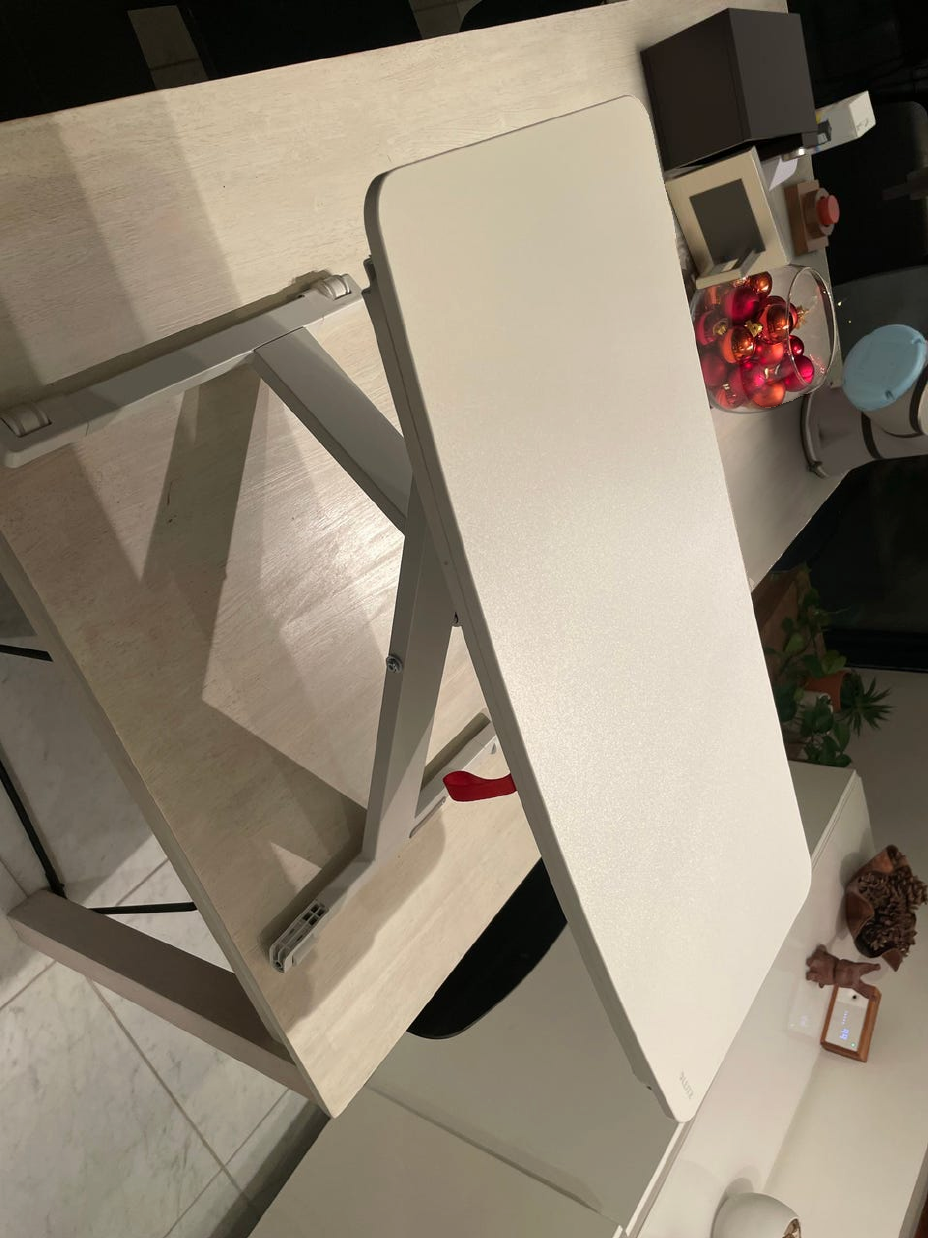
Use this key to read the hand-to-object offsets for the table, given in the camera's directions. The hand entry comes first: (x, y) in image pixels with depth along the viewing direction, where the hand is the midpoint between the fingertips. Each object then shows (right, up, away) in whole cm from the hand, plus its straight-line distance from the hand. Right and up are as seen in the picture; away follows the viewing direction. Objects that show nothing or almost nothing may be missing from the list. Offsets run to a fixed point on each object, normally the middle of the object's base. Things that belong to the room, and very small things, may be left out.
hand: (886, 194), depth 138 cm
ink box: (-13, +11, +6) cm, 18 cm away
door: (-34, -14, -17) cm, 41 cm away
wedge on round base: (-19, +5, -1) cm, 20 cm away
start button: (-7, 0, +7) cm, 10 cm away
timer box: (-9, 0, +9) cm, 13 cm away
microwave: (-32, +3, -14) cm, 35 cm away
